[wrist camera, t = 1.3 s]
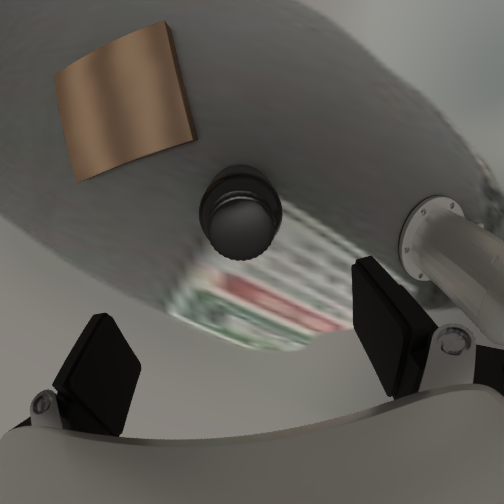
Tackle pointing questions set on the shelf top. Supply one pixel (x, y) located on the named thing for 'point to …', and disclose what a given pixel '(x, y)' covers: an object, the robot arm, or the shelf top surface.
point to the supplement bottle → (240, 213)
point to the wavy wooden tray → (124, 102)
